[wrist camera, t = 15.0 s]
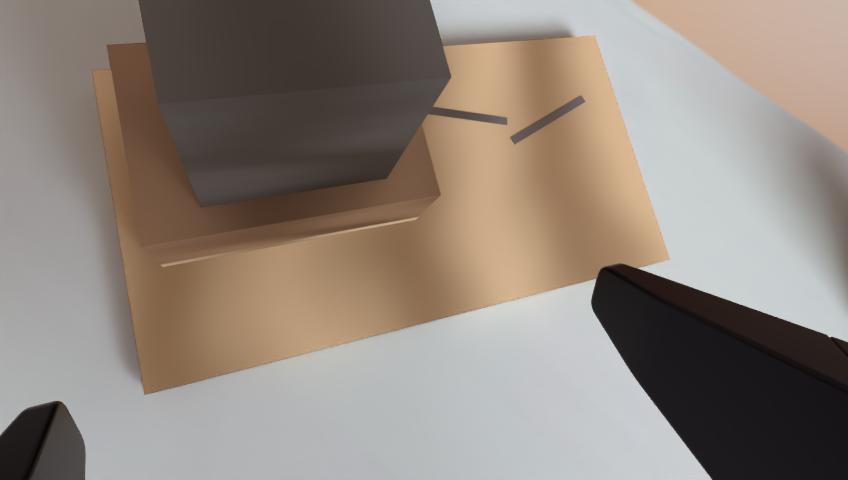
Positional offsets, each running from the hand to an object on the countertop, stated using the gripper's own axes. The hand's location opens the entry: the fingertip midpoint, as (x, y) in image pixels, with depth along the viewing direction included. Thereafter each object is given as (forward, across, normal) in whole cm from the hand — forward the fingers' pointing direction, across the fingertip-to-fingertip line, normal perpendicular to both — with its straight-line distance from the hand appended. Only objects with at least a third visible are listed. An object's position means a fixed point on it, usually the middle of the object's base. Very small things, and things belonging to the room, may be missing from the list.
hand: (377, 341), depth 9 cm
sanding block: (+10, 0, +1) cm, 10 cm away
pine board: (+10, -4, +3) cm, 11 cm away
